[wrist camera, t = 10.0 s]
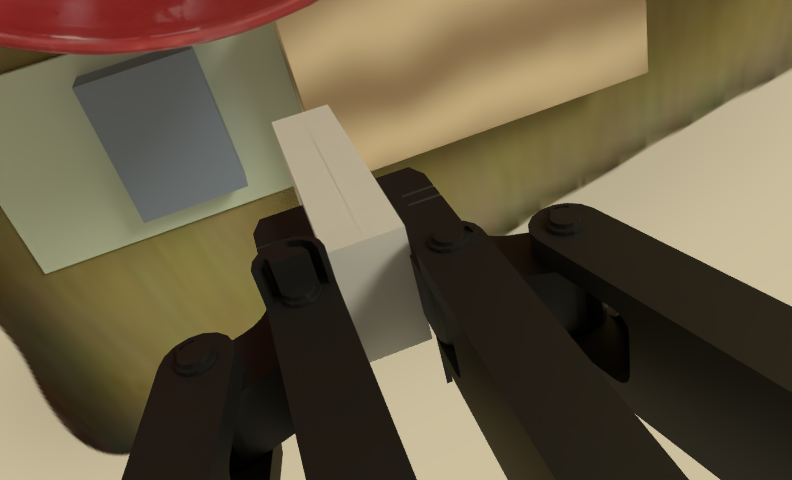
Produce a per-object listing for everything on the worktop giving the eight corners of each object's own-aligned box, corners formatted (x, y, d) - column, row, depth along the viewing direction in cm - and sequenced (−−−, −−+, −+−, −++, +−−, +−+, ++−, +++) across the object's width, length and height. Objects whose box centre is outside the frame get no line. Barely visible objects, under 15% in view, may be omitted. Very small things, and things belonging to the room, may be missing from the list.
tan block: (260, -8, 35) (270, 6, 32) (600, -115, 37) (643, -113, 34) (316, 158, 40) (330, 185, 37) (610, 56, 43) (648, 72, 40)
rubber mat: (-69, 95, 33) (-71, 98, 33) (260, -8, 35) (261, -7, 35) (46, 270, 39) (45, 274, 39) (321, 173, 41) (322, 175, 41)
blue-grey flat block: (191, 48, 33) (189, 39, 35) (71, 88, 32) (76, 76, 34) (248, 185, 37) (245, 172, 39) (144, 223, 37) (145, 207, 38)
